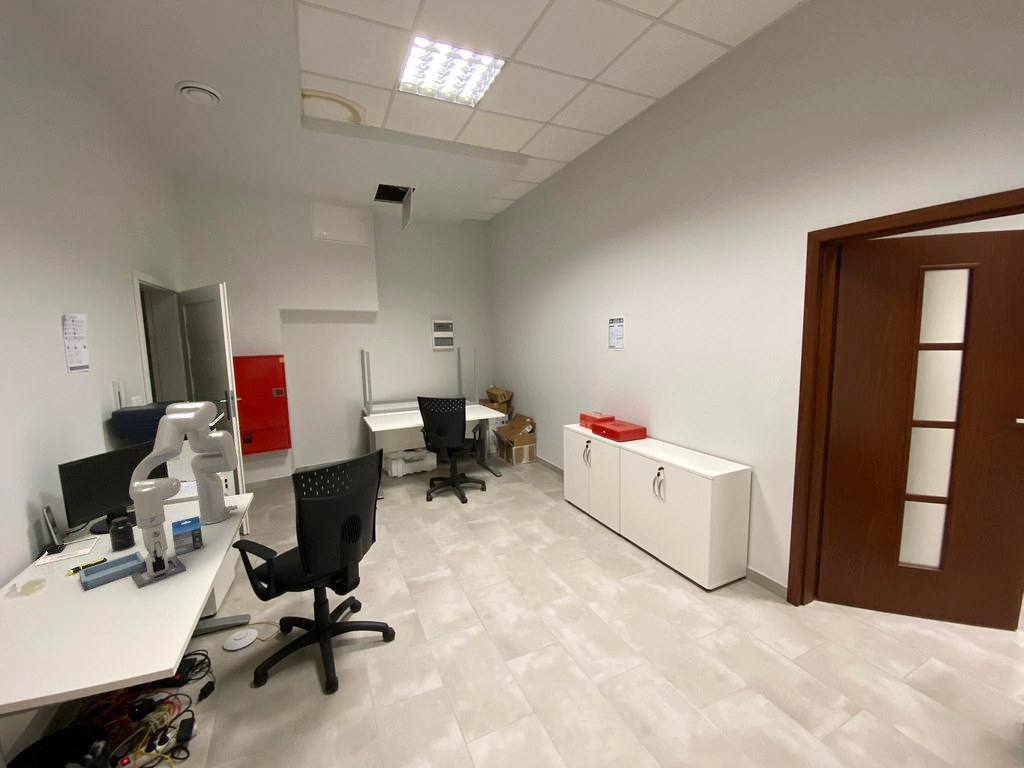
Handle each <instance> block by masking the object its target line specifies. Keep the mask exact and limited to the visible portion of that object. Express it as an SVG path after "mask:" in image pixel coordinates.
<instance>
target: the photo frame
mask: <svg viewBox="0 0 1024 768" xmlns="http://www.w3.org/2000/svg"><path fill="white" fill-rule="evenodd" d="M100 538H101V535H97V536H92V537H89V538H83V539H79V540H74V541H70V542H65V543H63V544H64V545H68V544H74V543H78V542H83V541H87V540H91V539H95V540H94V542H93V543H92V544H91V546H90V547H88V548H84V549H79V550H76V551H72V552H67V553H62V554H59V555H54V556H50V557H49V556H48V557H46V556H47V555H48V554H49V553H48V552H47V551H45V553H43V555H42V556H41V557H40V558H39V560H38V561H37V562H36V563H35V564H34V566H33V567H35V568H36V567H39V566H44V565H48V564H52V563H57V562H61V561H65V560H69V559H73V558H74V559H75V558H78V557H83V556H87V555H90V554H91V552H92V550H93V549H94V547H95V545H96V544H97V543H98V541H99V539H100ZM64 545H63V546H64ZM45 557H46V558H45Z"/></svg>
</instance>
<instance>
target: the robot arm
mask: <svg viewBox="0 0 1024 768" xmlns="http://www.w3.org/2000/svg"><path fill="white" fill-rule="evenodd" d="M217 414H218V408H217V406H216V404H215V403H214V402H212V401H205V400H204V401H193V402H192V401H187V402H175V403H171V404H168V405H167V406H166V408H165V414H164V415H162V417H161V418H160V419H159V422H158V428H157V432H156V436H155V440H154V445H153V449H152V451H151V452H150V453H149V454H148V455H147V456H145V457H144V458H143V459H142V460H141V461H140V462H139V463H138V465H137V466H136V467H135V469H134V470H133V472H132V476H131V480H130V484H129V490H128V492H129V497H130V498H131V500H132V501H133V506H134V507H133V508H134V513H135V519H136V520H135V521H136V528H137V529H139V530H141V532H142V538H143V543H144V547H145V548H144V549H145V550H146V551H147V552H148V554H151V555H152V558H153V562H152V566H153V572H154V573H156V572H159V571H161V570H164V569H165V562H164V558H163V552H162V549H163V550H166V551H168V549H169V546H168V541H167V536H166V531H165V528H164V523H165V522H166V515H165V508H164V501H166V500H169V499H171V498H174V497H175V496H176V495H177V494H178V493H179V492H180V491H181V487H182V485H181V481H180V480H179V479H178V478H176V477H162V478H152V479H151V478H150V479H148V477H149V475H150V474H151V472H152V471H153V470H154V469H155V468H157V467H159V466H160V465H162V464H163V463H166V462H168V461H170V460H171V459H174V458H176V457H178V456H180V455H181V453H182V451H183V447H184V446H183V445H184V440H185V436H186V437H187V441H188V444H189V447H190V450H191V451H192V452H193V453H195V454H197V455H195V456H194V457H193V458H191V462H190V467H191V469H192V472H193V476H194V478H195V484H196V489H197V490H196V491H197V501H198V507H199V515H200V516H199V521H200V526H207V525H213V524H217V523H220V522H223V521H226V520H227V519H228V518H229V517H231V511H236V510H238V505H237V504H235V505H229V506H226V504H225V503H226V501H225V494H224V486H223V480H222V478H221V476H220V475H219V473H228V472H233V471H235V470H236V469H237V467H238V466H239V459H238V455H237V454H238V453H237V449H236V446H235V441H234V438H233V435H232V434H231V433H230V432H229V431H228V430H211V428H210V424H211V423H213V421H214V420H215V418H216V416H217ZM154 551H156V552H155V553H154ZM156 554H157V556H155V555H156Z"/></svg>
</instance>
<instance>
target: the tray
mask: <svg viewBox="0 0 1024 768" xmlns="http://www.w3.org/2000/svg"><path fill="white" fill-rule="evenodd" d="M144 567H147V565H146V558H145V557H143V555H142V554H141V552H140V551H136V552H132V553H129V554H126V555H124V556H123V555H122V556H121V557H117V558H114V559H111V560H107V561H105V562H102V563H99V564H96V565H93V566H89V567H86V568H83V569H80V570H78V575H79V580H80V583H81V585H82V588H83V591H84V592H87V591H88V590H91V589H93V588H97V587H101V586H103V585H105V584H108V583H112V582H115V581H117V580H119V579H122V578H125V577H129V576H131V574H130V572H132V571H135V570H138V569H141V568H144Z"/></svg>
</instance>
